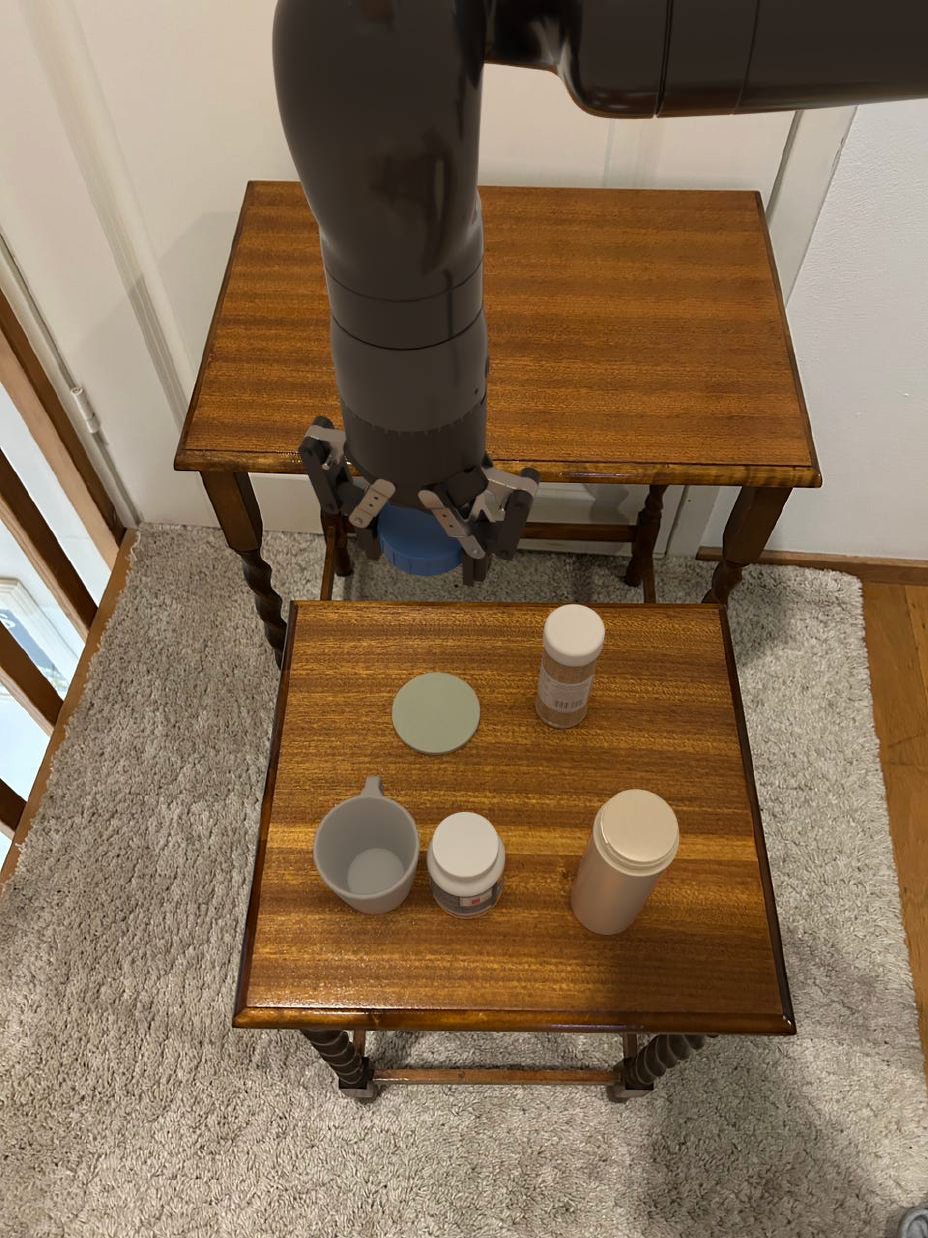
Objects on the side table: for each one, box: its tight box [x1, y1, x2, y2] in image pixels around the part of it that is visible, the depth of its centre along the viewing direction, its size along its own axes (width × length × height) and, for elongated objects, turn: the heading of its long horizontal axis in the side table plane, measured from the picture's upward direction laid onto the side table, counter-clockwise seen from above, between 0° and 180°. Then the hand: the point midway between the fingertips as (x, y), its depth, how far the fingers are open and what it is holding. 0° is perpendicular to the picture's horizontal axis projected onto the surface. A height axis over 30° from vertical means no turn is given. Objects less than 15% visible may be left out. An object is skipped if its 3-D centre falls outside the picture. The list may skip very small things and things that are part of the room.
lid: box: [377, 500, 464, 578], centre depth 59 cm, size 6×6×2 cm
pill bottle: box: [426, 811, 506, 920], centre depth 69 cm, size 6×6×10 cm
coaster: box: [391, 671, 481, 756], centre depth 80 cm, size 8×8×1 cm
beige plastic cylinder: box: [569, 788, 680, 936], centre depth 65 cm, size 5×5×18 cm
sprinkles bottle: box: [534, 603, 606, 730], centre depth 75 cm, size 5×5×13 cm
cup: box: [312, 775, 421, 916], centre depth 70 cm, size 8×10×8 cm
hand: (425, 562), depth 61 cm, fingers closed on lid, 6 cm apart
